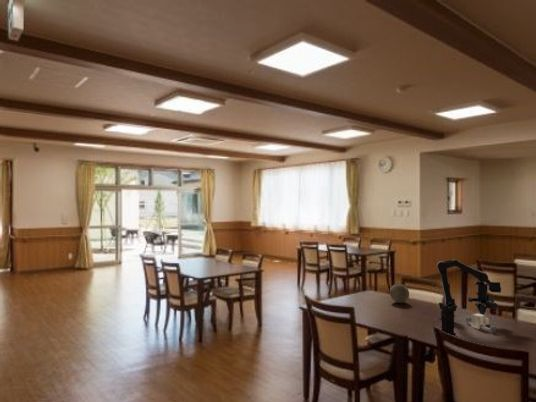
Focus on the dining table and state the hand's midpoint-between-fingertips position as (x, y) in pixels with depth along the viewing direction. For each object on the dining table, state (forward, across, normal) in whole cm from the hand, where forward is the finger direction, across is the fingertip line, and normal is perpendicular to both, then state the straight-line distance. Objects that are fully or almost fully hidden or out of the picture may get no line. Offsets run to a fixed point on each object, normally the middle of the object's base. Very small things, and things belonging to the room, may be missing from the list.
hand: (482, 315), depth 264 cm
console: (+5, 0, 0) cm, 5 cm away
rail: (+5, -8, +9) cm, 13 cm away
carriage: (+5, -6, +9) cm, 12 cm away
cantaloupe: (+6, +60, +20) cm, 64 cm away
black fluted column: (+6, -18, +42) cm, 46 cm away
